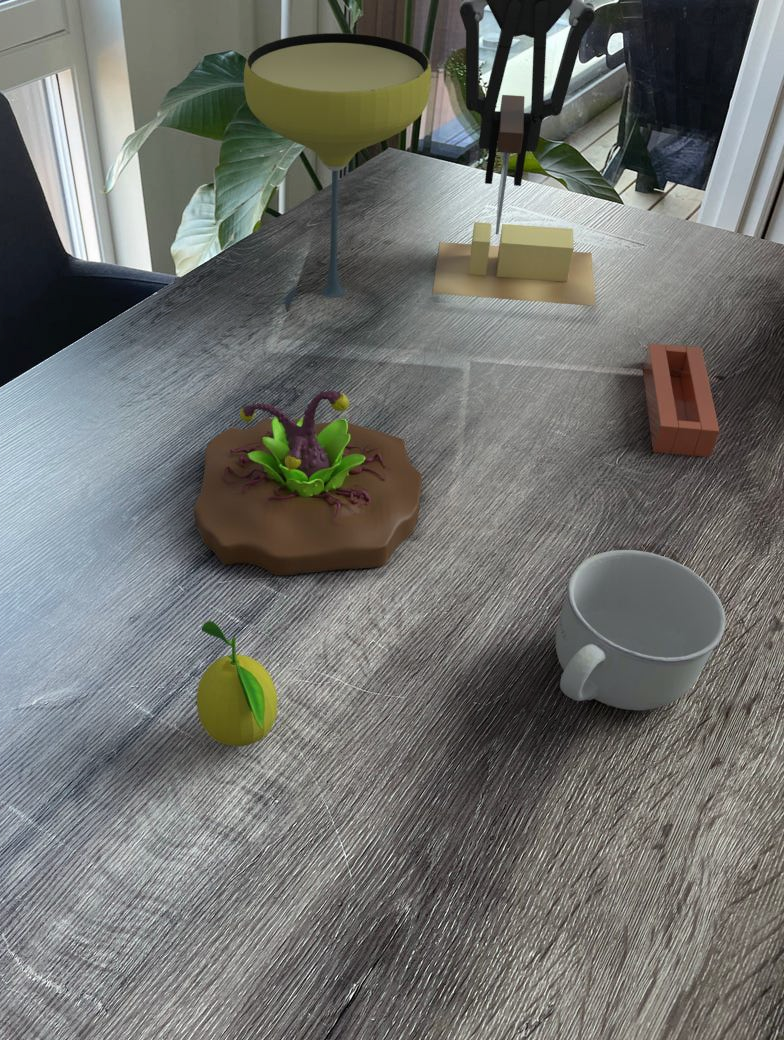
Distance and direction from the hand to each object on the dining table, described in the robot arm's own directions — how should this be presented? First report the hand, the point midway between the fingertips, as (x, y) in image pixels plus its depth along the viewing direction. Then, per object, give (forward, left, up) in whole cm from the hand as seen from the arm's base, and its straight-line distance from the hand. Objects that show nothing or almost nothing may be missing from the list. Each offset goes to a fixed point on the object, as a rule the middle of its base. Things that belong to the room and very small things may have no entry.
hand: (503, 179), depth 113 cm
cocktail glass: (+17, +9, -12) cm, 23 cm away
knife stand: (-19, +26, -11) cm, 34 cm away
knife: (0, 0, -4) cm, 4 cm away
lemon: (+15, +72, -12) cm, 75 cm away
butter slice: (+1, 0, -10) cm, 10 cm away
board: (-3, +1, -11) cm, 12 cm away
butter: (-5, 0, -10) cm, 11 cm away
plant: (+14, +45, -12) cm, 49 cm away
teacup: (-11, +63, -12) cm, 65 cm away
